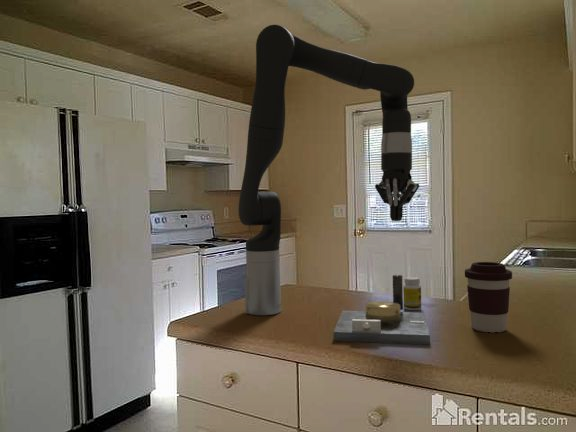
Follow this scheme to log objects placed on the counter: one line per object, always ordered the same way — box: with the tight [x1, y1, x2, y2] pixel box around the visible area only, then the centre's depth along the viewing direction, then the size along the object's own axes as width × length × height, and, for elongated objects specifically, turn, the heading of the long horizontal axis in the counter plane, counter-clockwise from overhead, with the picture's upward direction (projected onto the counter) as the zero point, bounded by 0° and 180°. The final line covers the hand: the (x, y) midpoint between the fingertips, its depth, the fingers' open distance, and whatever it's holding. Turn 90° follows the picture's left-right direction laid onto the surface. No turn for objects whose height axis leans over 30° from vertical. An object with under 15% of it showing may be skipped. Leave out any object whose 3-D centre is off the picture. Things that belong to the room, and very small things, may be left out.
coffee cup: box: [464, 261, 513, 334], centre depth 105 cm, size 10×10×15 cm
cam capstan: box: [364, 274, 404, 323], centre depth 110 cm, size 15×8×8 cm, turn 146°
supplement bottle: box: [403, 276, 422, 311], centre depth 126 cm, size 5×5×8 cm
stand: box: [333, 310, 431, 346], centre depth 106 cm, size 20×19×4 cm
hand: (396, 220), depth 116 cm, fingers closed
